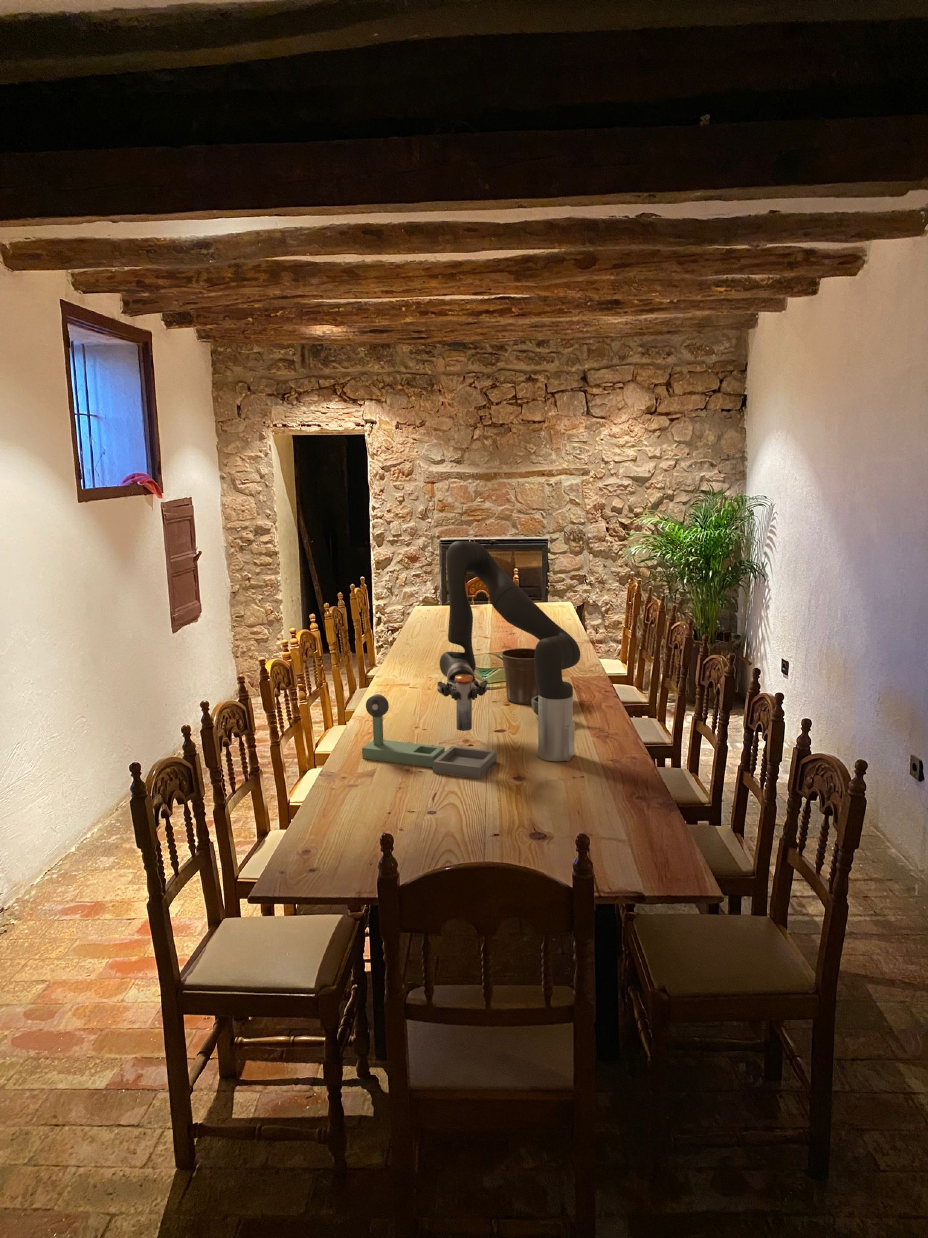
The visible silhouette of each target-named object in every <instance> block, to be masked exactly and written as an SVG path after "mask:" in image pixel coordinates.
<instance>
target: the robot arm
mask: <svg viewBox="0 0 928 1238" xmlns="http://www.w3.org/2000/svg"><path fill="white" fill-rule="evenodd" d="M446 574H447V586H448V599H449V618H448V632H447V641H448V642H449V643H451V644H452V645H457V646H460V647H462V648H463V650H464V652H463V651H462V652H461V651H446V652H443V654H441V656H440V659H439V670H440V671H441V673H442V675H443V676H445V678H447V679H446V681H447V682H446V683H445V682H442V681H437V692H438V693H439V694H440V695H442V696H444V697H449V696H450V697H451V699H454V700H453V701H456V700H457V690H456V681H455V676H456V675H460V674H468V675H472V676H473V681H472V701H475V700H476V699H477V698H478V696H480V697H481V696H484V695H485V693H487V691H488V680H482V681H480V682H479V681H478V680H476V678H475V670H476V667H477V666H476V665H477V663H476V659H475V654H474V650H473V642H472V641H473V640H472V638H473V637H472V636H473V627H474V626H473V625H474V616H473V615H474V614H473V609H472V605H471V604H470V600H469V598H468V595H467V594H468V593H467V588H466V577H467V574H472V575H473V576H475V577H477V578H478V579H479V581H480V582H481V583H483V585H484V586H485V588H487V593H488V597H489V600H490V603H491V605H492V607H493V608H494V609H495V611H496V612H497V613H498V614H499V615H500V616H501V618H503V619H504V620H505V621H506V622H507V623H509V624H510V625H511V626H513V627H516V628H517V629H519V630H522V631H523V632H525V633H528V635H529V634H530V635H532V636H533V637H535V638H536V639H538V640H539V641H538V642H537V643H536V645H535V648H534V649H535V679H536V684H537V687H538V694H539V695H538V715H537V718H538V721H537V722H538V730H537V732H538V733H537V738H538V741H537V743H538V744H537V746H538V747H537V750H538V751H537V752H538V754H537V755H538V757H539V758H540V759H541V760H545V761H549V762H569V761H570V760H571V759H572V758H573V756H574V755H575V729H576V728H575V727H576V725H575V723H576V722H575V720H573V717H574V714H573V709H574V707H573V705H574V703H573V702H574V687H573V685H572V684H571V682H567V681H565V680H563V670H566V669H570V668H573V667H575V666H577V664H578V663H579V662H580V659H581V651H580V646H579V644H578V643H577V641H576V640H575V639H574V637H573V636H572V635H570V634H569V633H568V632H567V631H566V630H565V629H563V628H562V627H561V626H560V625H558V624H557V623H556V622H555V621H554V620H552V619H551V618H550V617H549V616H548V615H547V614H546V613H545V612H544V611H543V610H542V609H541V608H540V606H538V605H537V604H536V603H535V602H534V601H533V600H532V599H531V598H530V596H529V595H528V594H527V593H526V592H525V591H523V589H522V588H521V587H520V586H519V585H518V584H517V583H515V582H514V580H513V579H512V578H511V577H510V576H509V575H508V574H507V573H506V572H505V571H504V570H503V569H502V568H501V567H500V566H499V564H498V563H497V562H496V560H495V559H494V557H493V556H492V555H491V554H490V552H489V551H488V550H487V549H486V548H485V547H484V546H483V544H481V543H478V542H476V541H465V540H464V541H463V540H456V541H454V542H452V543H451V544H450V545H449V547H448V549H447V551H446Z"/></svg>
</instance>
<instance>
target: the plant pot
mask: <svg viewBox="0 0 928 1238" xmlns="http://www.w3.org/2000/svg"><path fill="white" fill-rule="evenodd" d="M500 655H501V656H502V663H503V666H504V667H503V668H504V675H505V676H504V677H505V678H504V679H505V689H506V690H505V691H506V699H507V701H508V702H511V703H513V704H518V705H532V703H531V699H532V698H534V697H536V696H538V695H539V694H538V687H537V684H536V679H535V648H531V647H528V648H527V647H526V648H525V647H519V648H517V647H516V648H509V649H506V650H505V649H504V650H503V651H501V653H500Z"/></svg>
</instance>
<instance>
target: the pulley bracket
mask: <svg viewBox="0 0 928 1238" xmlns="http://www.w3.org/2000/svg"><path fill="white" fill-rule="evenodd" d="M389 709H390V704H389V700H388V699H387V697H385V696H384V695H382V694H380V693H379V694H373V695H372V696H370V697H368V699H366V701H365V710H366V711H367V713H368V714H369V715H370V716H371V717H372V735H373V736H372V737H373V739H372V741H370V742H368V743H367V744H366V745H364V746H362V747H361V753H362V755H361V756H362V757H361V758H362V759H365V760H373V761H379V762H380V761H381V762H387V763H396V764H404V765H411V766H420V767H427V768H433V761H434V760H435V759H437V758H438V757H439V756H440V755H441V754H443V753H444V752H445V751H446V749H445V746H439V745H430V744H422V743H414V742H406V741H405V742H404V741H397V740H389V739H388V740H387V739H384V719H383V718H384V717H383V716H385V715H386V714H387V713H388V711H389Z"/></svg>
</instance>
